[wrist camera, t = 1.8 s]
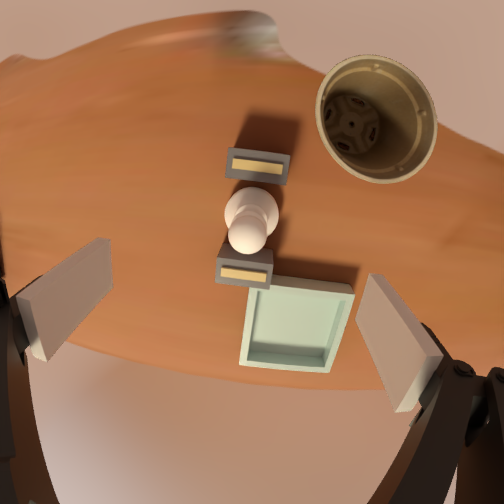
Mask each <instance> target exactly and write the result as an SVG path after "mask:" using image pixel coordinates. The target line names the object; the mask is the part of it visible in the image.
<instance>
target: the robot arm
mask: <svg viewBox="0 0 504 504" xmlns="http://www.w3.org/2000/svg"><path fill="white" fill-rule="evenodd" d="M112 288H113V278H112V263H111V242H110V239H106V238H96V239H95V240H93V241H92V242H90V243H89V244H87V245H86V246H84V247H83V248H81V249H80V250H78V251H77V252H75V253H74V254H72V255H71V256H70V257H68V258H67V259H65V260H64V261H62V262H61V263H59V264H58V265H57V266H55V267H54V268H52V269H51V270H50V271H48V272H47V273H45V274H44V275H41V276H39V277H37V278H36V279H35V280H33V281H32V282H31V283H29V284H28V285H26V287H24V288H22V289H21V290H20V291H19V292H17V293H16V294H15V295H13V296H12V297H11V298H9V297H8V292H7V288H6V284H5V280H3V279H2V278H0V504H60V503H59V502H58V499H57V497H56V494H55V491H54V488H53V485H52V482H51V479H50V476H49V473H48V470H47V466H46V463H45V459H44V456H43V452H42V448H41V443H40V440H39V435H38V431H37V426H36V420H35V415H34V410H33V404H32V397H31V390H30V382H29V373H28V362H27V356H26V353H25V349H26V348H27V347H28V346H29V345H30V348H31V351H32V354H33V356H34V357H36V358H38V359H41V360H43V361H46V362H48V361H49V360H50V358H51V357H52V356H53V354H54V353H55V352H56V351H57V350H58V349H59V347H60V346H61V345H62V344H63V343H64V341H65V340H66V339H67V338H68V337H69V336H70V335H71V333H72V332H73V331H74V330H75V329H76V328H77V327H78V325H79V324H80V323H81V322H82V321H83V320H84V319H85V318H86V316H87V315H88V314H89V313H90V312H91V311H92V310H93V309H94V308H95V306H96V305H97V304H98V303H99V302H100V301H101V300H102V299H103V298H104V297H105V296H106V294H107V293H108V292H109V291H110V290H111V289H112ZM355 321H356V323H357V325H358V328H359V330H360V332H361V334H362V336H363V339H364V341H365V343H366V345H367V347H368V350H369V352H370V354H371V357H372V359H373V361H374V363H375V366H376V368H377V370H378V373H379V375H380V378H381V380H382V382H383V385H384V387H385V390H386V392H387V394H388V397H389V399H390V402H391V404H392V407H393V409H394V412H406V411H411V410H412V409H413V407H414V406H415V404H416V403H417V401H418V400H419V402H420V404H421V406H422V407H421V409H420V410H419V412H418V413H417V415H416V416H415V418H414V419H413V420H412V422H411V424H410V425H409V426H410V427H411V428H410V431H409V433H408V435H407V437H406V439H405V441H404V443H403V444H402V447H401V449H400V450H399V452H398V454H397V456H396V458H395V460H394V461H393V463H392V465H391V466H390V468H389V470H388V472H387V474H386V475H385V477H384V478H383V480H382V482H381V483H380V485H379V486H378V488H377V490H376V491H375V493H374V494H373V496H372V497H371V499H370V500H369V502H368V503H367V504H443V503H444V501H445V498H446V496H447V493H448V490H449V487H450V485H451V482H452V479H453V476H454V473H455V470H456V467H457V481H456V493H455V501H454V504H504V369H502V368H500V367H494V368H492V369H491V370H490V372H489V374H488V375H487V377H483V376H477V375H476V373H475V371H474V369H473V368H472V367H471V366H470V365H469V364H467V363H465V362H463V361H460V360H453V359H452V358H451V356H450V355H449V353H448V352H447V351H446V349H445V348H444V346H443V345H442V344H441V343H440V341H439V340H438V338H436V336H435V334H434V333H433V332H432V330H431V329H430V328H428V327H427V326H426V325H425V324H423V323H420V322H419V321H418V319H417V318H416V317H415V315H414V314H413V313H412V311H411V310H410V309H409V307H408V306H407V305H406V304H405V302H404V301H403V300H402V298H401V297H400V296H399V295H398V293H397V292H396V291H395V290H394V288H393V287H392V286H391V285H390V283H389V282H388V281H387V280H386V278H385V277H384V276H383V275H381V274H373V273H369V276H368V279H367V283H366V286H365V289H364V293H363V296H362V299H361V302H360V306H359V309H358V312H357V315H356V318H355ZM488 421H489V422H488ZM487 422H488V424H487Z"/></svg>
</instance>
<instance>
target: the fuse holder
mask: <svg viewBox="0 0 504 504" xmlns="http://www.w3.org/2000/svg"><path fill="white" fill-rule="evenodd" d="M289 161H290V155H288V154H282V153H275V152H268V151H260V150H252V149H244V148H235V147H229V148H228V156H227V164H226V173H225V178H233V179H242V180H250V181H258V182H265V183H272V184H279V185H286V182H287V175H288V168H289ZM273 265H274V263H273V249H265V248H261V249H260V250H259V251H258V252H255V253H253V254H243V253H240V252H238V251H236V250H235V249H234V248H233V247H232V246H231V244H228V243H223V244H222V247H221V249H220V251H219V254H218V256H217V263H216V275H215V283H221V284H229V285H236V286H243V287H251V288H258V289H266V290H269V289H270V283H271V277H272V271H273Z"/></svg>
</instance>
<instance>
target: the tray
mask: <svg viewBox="0 0 504 504" xmlns="http://www.w3.org/2000/svg"><path fill="white" fill-rule="evenodd" d="M354 297H355V293H354V291H353V290H352V288H351V286H350V284H346V283H337V282H329V281H321V280H313V279H304V278H296V277H289V276H281V275H273V274H272V277H271V283H270V289H269V290H266V289H258V288H251V287H249V294H248V301H247V308H246V316H245V323H244V330H243V337H242V345H241V352H240V360H239V365H245V366H253V367H262V368H271V369H282V370H293V371H307V372H323V373H329V372H330V369H331V366H332V364H333V361H334V358H335V355H336V353H337V350H338V347H339V344H340V341H341V338H342V335H343V332H344V329H345V326H346V323H347V320H348V317H349V314H350V310H351V307H352V304H353V301H354Z"/></svg>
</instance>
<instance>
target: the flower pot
mask: <svg viewBox="0 0 504 504" xmlns="http://www.w3.org/2000/svg"><path fill="white" fill-rule="evenodd" d="M352 98H356V99H358V100H361V101H362V102H363V103H364V105H361V104H359V103H357V102H354V101H352ZM328 110H331V112H330V115H331V116H329V118H328V120H326V119H325V118H326V115H327V112H328ZM315 117H316V123H317V128H318V131H319V134H320V137H321V139H322V141H323V143H324V145H325V147H326V149H327V150H328V152H329V153H330V155H331V156H332V157H333V158H334V159H335V160H336V162H337V163H338V164H339V165H341V166H342V167H343V168H344V169H345V170H346V171H348V172H349V173H351V174H353V175H354V176H356V177H358V178H360V179H363V180H366V181H369V182H373V183H380V184H387V183H396V182H400V181H403V180H405V179H408V178H409V177H411V176H413V175H414V174H416V173H417V172H418V171H419V170H420V169H421V168H422V167H423V166H424V165H425V164H426V162H427V161H428V159H429V157H430V156H431V154H432V151H433V149H434V146H435V142H436V137H437V115H436V112H435V107H434V103H433V101H432V98H431V96H430V94H429V92H428V91H427V89H426V87H425V86H424V84H423V83H422V82H421V80H420V79H419V78H418V77H417V76H416V75H415V74H414V73H413V72H412V71H410V70H409V69H408V68H406V67H405V66H404V65H402V64H400V63H398V62H396V61H394V60H391V59H389V58H386V57H382V56H377V55H358V56H354V57H351V58H348V59H346V60H344V61H342V62H340V63H339V64H337V65H336V66H334V67H333V68H332V69H331V71H330V72H328V74H327V75H326V76H325V78H324V80H323V81H322V83H321V85H320V88H319V90H318V93H317V97H316V104H315ZM350 122H353V123H354V126H351V125H350ZM373 128H375V135H374V139H373V140H370V138H369V137H370V135H371V133H372V129H373ZM338 142H340V143H343V144H345V145H347V146H349V149H348V150H344V149H342V148H341V147H339V146H338V145H337V144H338Z"/></svg>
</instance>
